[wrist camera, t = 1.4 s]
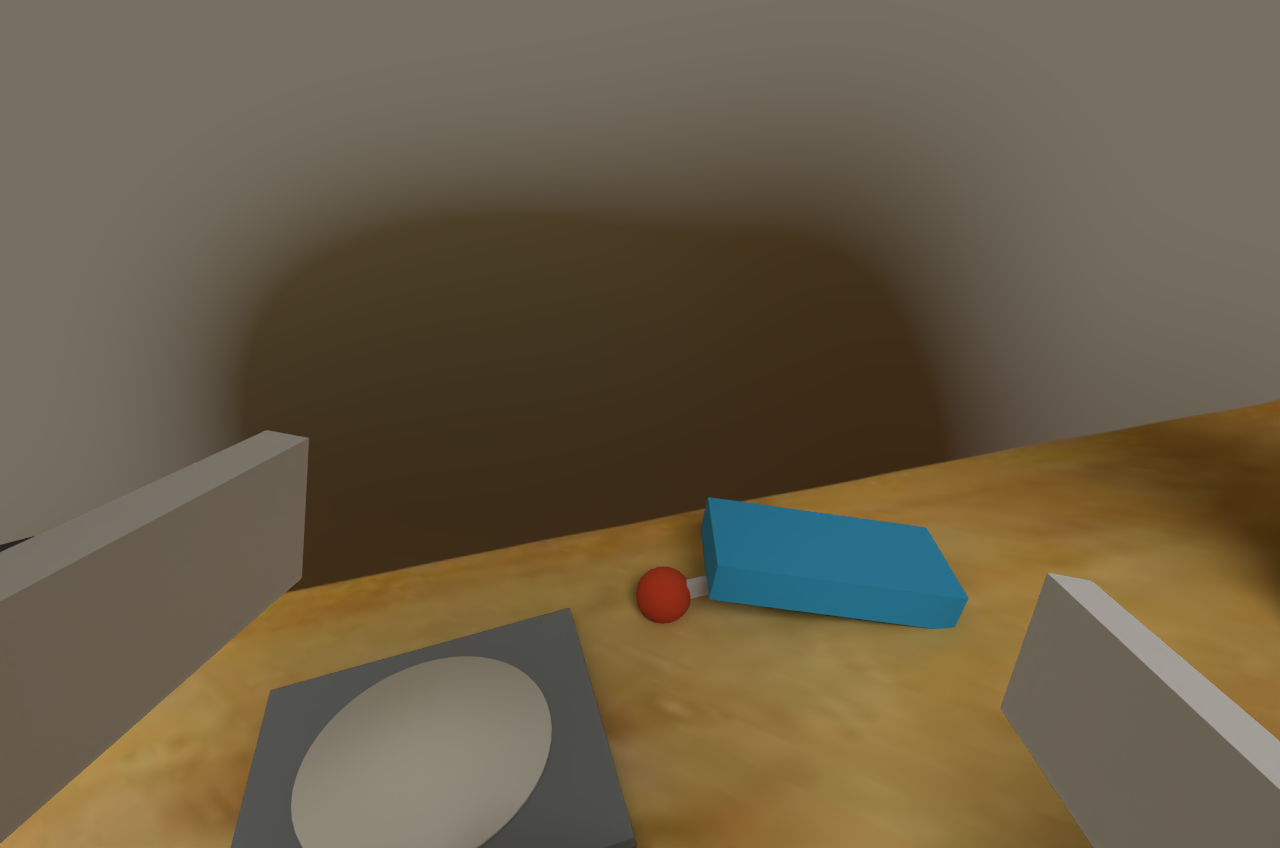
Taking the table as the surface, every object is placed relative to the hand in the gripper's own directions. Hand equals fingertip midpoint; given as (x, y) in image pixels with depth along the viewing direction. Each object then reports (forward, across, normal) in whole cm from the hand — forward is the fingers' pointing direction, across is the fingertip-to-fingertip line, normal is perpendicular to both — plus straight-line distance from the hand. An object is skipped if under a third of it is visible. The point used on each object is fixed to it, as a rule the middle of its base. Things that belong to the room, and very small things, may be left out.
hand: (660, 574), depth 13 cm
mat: (+19, -9, -22) cm, 31 cm away
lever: (+30, +10, -15) cm, 35 cm away
